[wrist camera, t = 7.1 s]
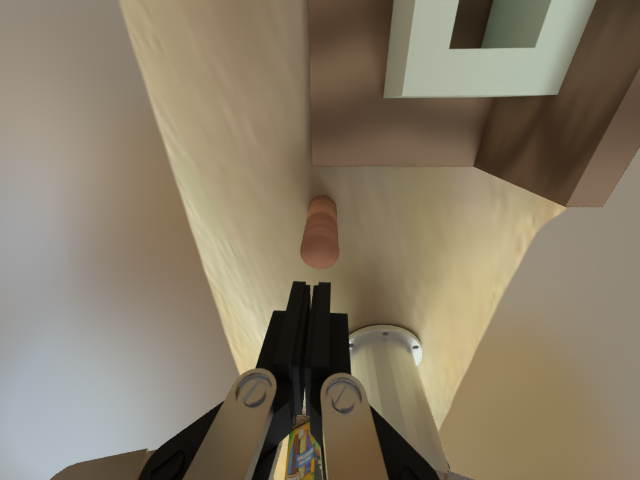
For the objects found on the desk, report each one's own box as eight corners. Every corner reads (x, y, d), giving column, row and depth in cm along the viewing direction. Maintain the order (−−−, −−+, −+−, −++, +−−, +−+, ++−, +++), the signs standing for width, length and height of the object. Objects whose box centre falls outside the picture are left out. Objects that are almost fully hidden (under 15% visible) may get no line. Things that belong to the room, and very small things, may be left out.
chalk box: (288, 430, 53) (275, 536, 40) (316, 416, 49) (310, 526, 36) (320, 444, 55) (317, 547, 43) (348, 431, 52) (353, 539, 39)
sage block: (496, 97, 19) (557, 94, 14) (383, 98, 20) (401, 96, 14) (548, -73, 15) (666, -169, 10) (400, -68, 15) (437, -157, 10)
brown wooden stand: (497, 163, 23) (621, 207, 13) (312, 162, 24) (299, 204, 14) (625, -204, 13) (1481, -1098, 3) (305, -186, 14) (243, -888, 4)
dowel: (336, 221, 27) (338, 268, 19) (309, 221, 27) (301, 268, 19) (336, 196, 26) (339, 235, 18) (308, 196, 26) (299, 235, 18)
